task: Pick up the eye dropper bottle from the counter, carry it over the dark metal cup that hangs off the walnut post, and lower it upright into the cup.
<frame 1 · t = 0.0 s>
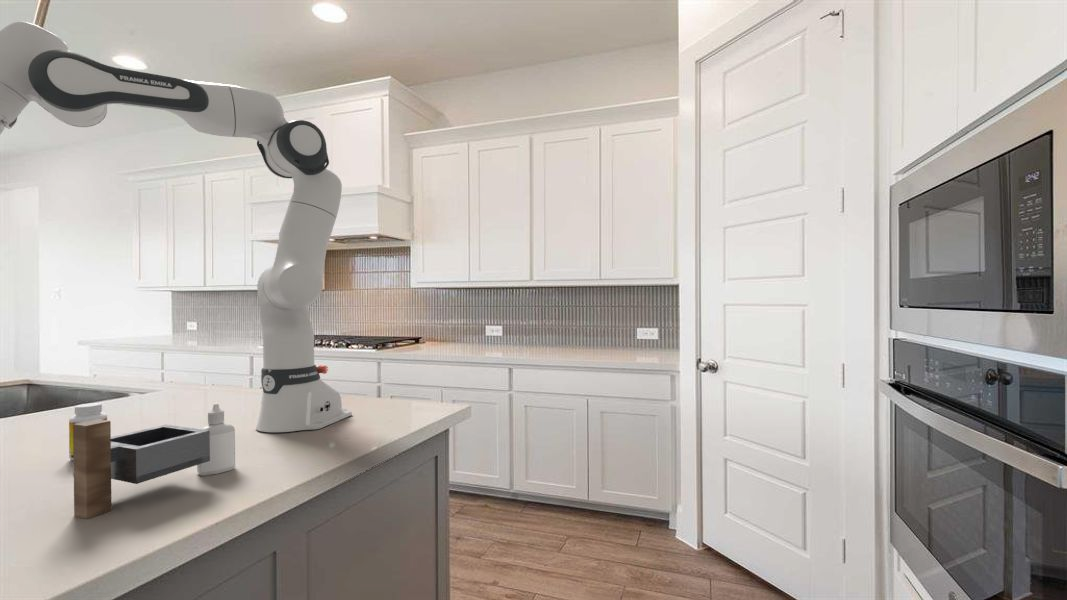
eye dropper bottle: (216, 472, 89), on the counter
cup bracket: (153, 492, 80), on the counter
supplement bottle: (88, 458, 98), on the counter
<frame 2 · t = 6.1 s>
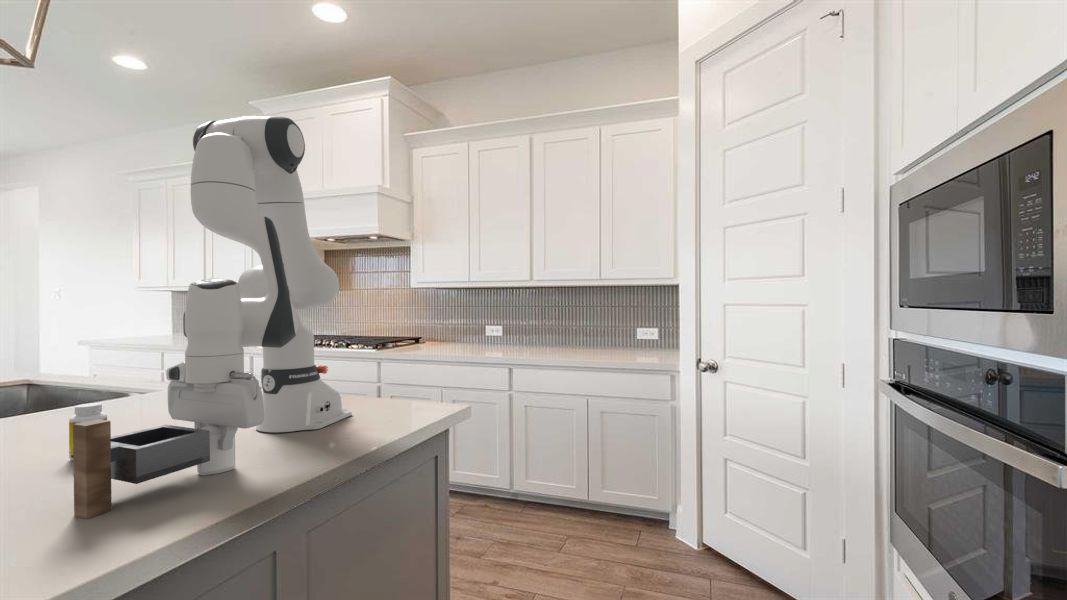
hand: (216, 448, 89), 4 cm above the counter, tool pointing down, fingers closed on eye dropper bottle, 3 cm apart
eye dropper bottle: (216, 472, 89), on the counter, touching gripper
everything else where it was.
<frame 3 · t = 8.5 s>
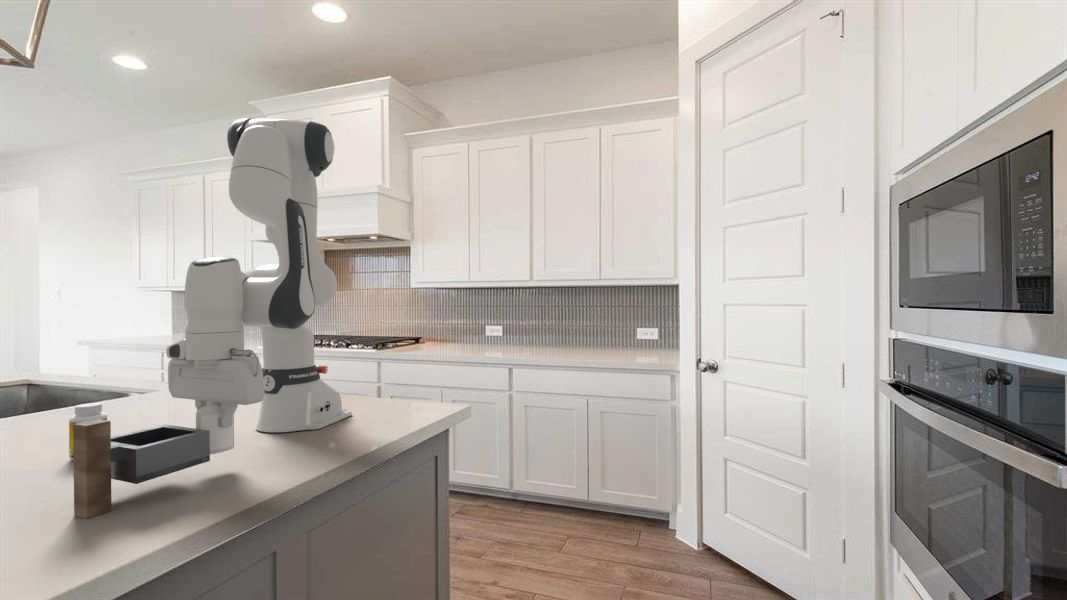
hand: (216, 425, 89), 8 cm above the counter, tool pointing down, fingers closed on eye dropper bottle, 3 cm apart
eye dropper bottle: (215, 452, 89), point 3 cm above the counter, touching gripper
everything else where it was.
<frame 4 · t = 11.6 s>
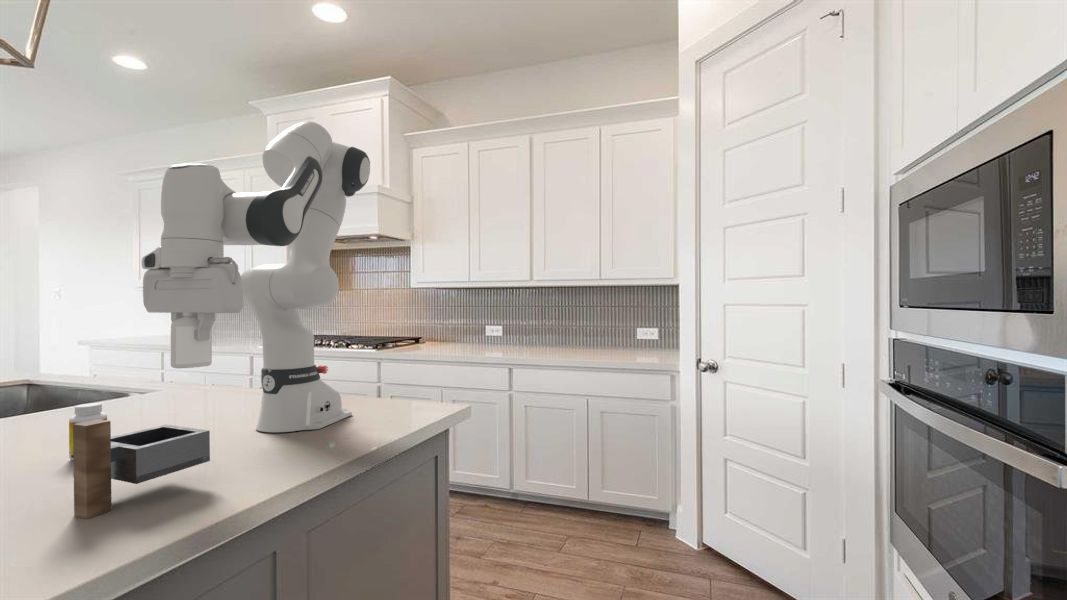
hand: (192, 340, 85), 24 cm above the counter, tool pointing down, fingers closed on eye dropper bottle, 3 cm apart
eye dropper bottle: (191, 367, 85), point 19 cm above the counter, touching gripper
everything else where it was.
when the fingers open (11 cm above the counter, at t = 15.9 s): eye dropper bottle drops 1 cm, resting on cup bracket.
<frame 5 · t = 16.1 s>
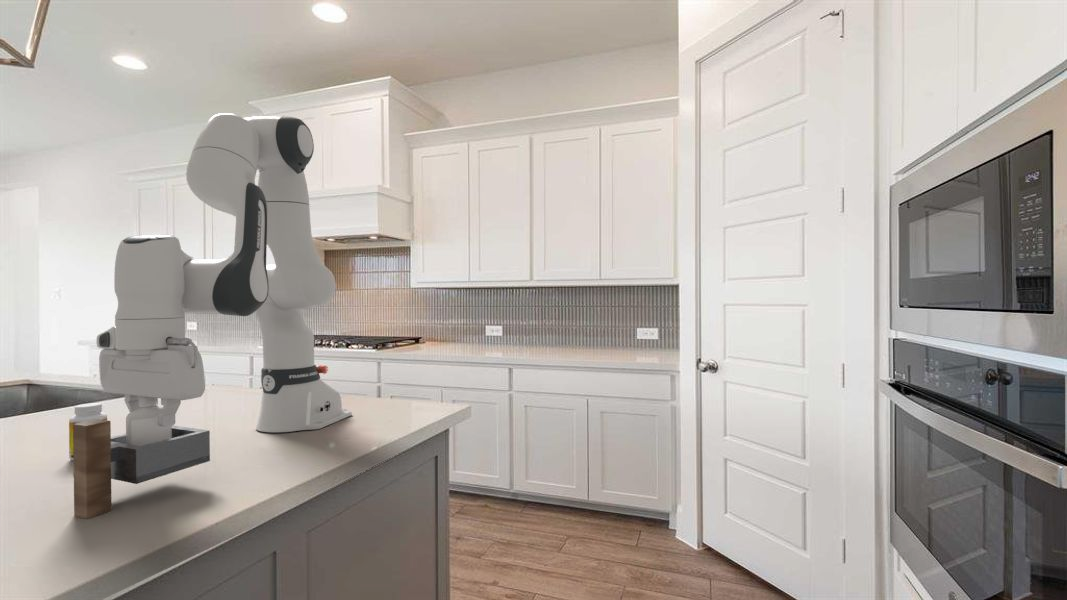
hand: (152, 424, 80), 11 cm above the counter, tool pointing down, fingers open, 5 cm apart
eye dropper bottle: (150, 461, 80), point 5 cm above the counter, touching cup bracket, gripper
everything else where it was.
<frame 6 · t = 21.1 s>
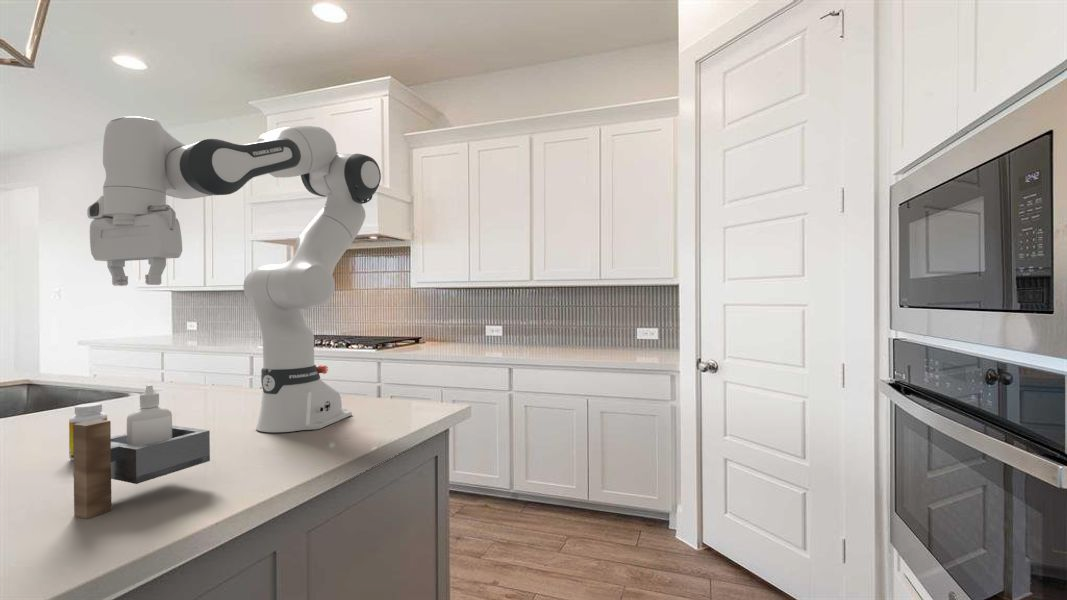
hand: (136, 285, 90), 33 cm above the counter, tool pointing down, fingers open, 8 cm apart
eye dropper bottle: (150, 462, 80), point 5 cm above the counter, touching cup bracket
everything else where it was.
at the end: eye dropper bottle 0.5 cm off-centre on the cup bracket, point 4.8 cm above the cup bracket's base; eye dropper bottle tilted 0°; the gripper is holding nothing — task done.
